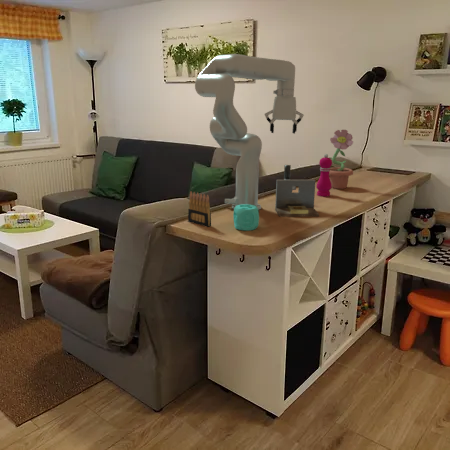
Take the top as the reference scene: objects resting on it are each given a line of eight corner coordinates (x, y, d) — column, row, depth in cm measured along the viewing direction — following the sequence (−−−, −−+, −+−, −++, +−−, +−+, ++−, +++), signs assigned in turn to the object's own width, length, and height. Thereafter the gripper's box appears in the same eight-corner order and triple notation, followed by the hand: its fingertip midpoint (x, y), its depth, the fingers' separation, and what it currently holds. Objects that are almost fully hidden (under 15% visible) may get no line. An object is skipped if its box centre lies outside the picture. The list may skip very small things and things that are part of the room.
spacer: (287, 209, 189) (290, 213, 182) (287, 205, 189) (291, 210, 182) (304, 209, 190) (308, 213, 183) (304, 205, 189) (308, 210, 182)
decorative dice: (254, 224, 172) (254, 203, 170) (258, 230, 164) (259, 209, 162) (233, 225, 171) (233, 204, 169) (237, 231, 163) (237, 209, 161)
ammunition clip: (211, 226, 169) (211, 194, 166) (207, 227, 168) (207, 195, 165) (191, 220, 176) (191, 190, 173) (188, 221, 175) (187, 191, 172)
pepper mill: (320, 197, 217) (322, 155, 212) (313, 194, 224) (315, 153, 218) (333, 196, 219) (336, 154, 213) (326, 193, 226) (329, 152, 220)
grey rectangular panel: (276, 208, 191) (277, 180, 188) (275, 207, 193) (276, 179, 190) (313, 208, 192) (315, 180, 189) (312, 206, 194) (314, 179, 190)
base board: (279, 216, 183) (279, 213, 182) (275, 209, 193) (275, 207, 193) (318, 216, 184) (318, 213, 183) (312, 209, 194) (312, 206, 194)
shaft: (290, 189, 194) (291, 171, 192) (283, 182, 211) (284, 164, 209) (296, 189, 194) (297, 171, 192) (289, 182, 211) (290, 164, 209)
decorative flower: (322, 189, 235) (326, 130, 226) (323, 184, 247) (327, 128, 239) (352, 191, 231) (357, 131, 223) (351, 185, 244) (356, 129, 236)
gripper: (266, 92, 196) (264, 133, 201) (306, 93, 196) (303, 134, 201) (264, 93, 203) (263, 132, 208) (303, 94, 203) (300, 133, 208)
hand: (283, 133), depth 204 cm, fingers open, 9 cm apart
